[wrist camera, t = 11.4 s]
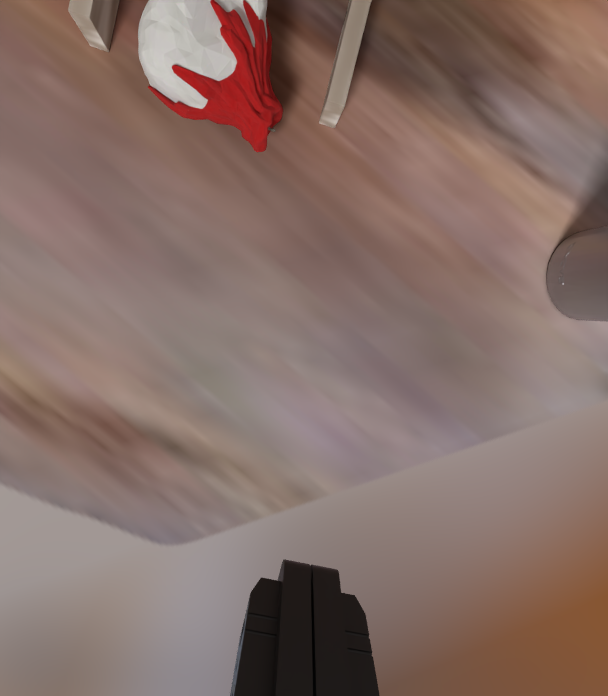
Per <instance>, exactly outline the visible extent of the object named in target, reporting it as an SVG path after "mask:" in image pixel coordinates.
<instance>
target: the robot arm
mask: <svg viewBox="0 0 608 696" xmlns="http://www.w3.org/2000/svg"><path fill="white" fill-rule="evenodd" d="M547 288H548V293H549V295H550V298H551V300H552V302H553V303H554V305H555V306H556V308H557V309H558V310H560V311H561V312H562V313H563V314H564V315H566V316H568V317H570V318H573V319H577V320H589V321H607V322H608V226H604V227H599V228H595V229H590V230H586V231H581V232H578V233H576V234H573V235H571V236H570V237H568V238H567V239H565V240H564V241H563V242H562V243H561V244H560V245H559V246H558V247H557V249H556V250H555V252H554V253H553V255H552V257H551V260H550V262H549V265H548V270H547ZM230 696H379V690H378V684H377V679H376V673H375V667H374V661H373V657H372V650H371V644H370V639H369V633H368V626H367V621H366V615H365V613H364V611H363V609H362V607H361V605H360V604H359V602H358V600H357V598H356V597H355V595H350V594H345V593H341V589H340V579H339V572H338V570H336V569H331V568H326V567H321V566H316V565H311V566H310V565H309V564H305V563H300V562H294V561H289V560H283V562H282V566H281V569H280V574H279V577H278V581H276V580H271V579H266V578H261V579H260V580H259V582H258V583H257V584H256V586H255V587H254V589H253V590H252V592H251V594H250V598H249V602H248V607H247V610H246V615H245V619H244V623H243V627H242V632H241V636H240V641H239V647H238V652H237V659H236V664H235V671H234V676H233V682H232V687H231V694H230Z"/></svg>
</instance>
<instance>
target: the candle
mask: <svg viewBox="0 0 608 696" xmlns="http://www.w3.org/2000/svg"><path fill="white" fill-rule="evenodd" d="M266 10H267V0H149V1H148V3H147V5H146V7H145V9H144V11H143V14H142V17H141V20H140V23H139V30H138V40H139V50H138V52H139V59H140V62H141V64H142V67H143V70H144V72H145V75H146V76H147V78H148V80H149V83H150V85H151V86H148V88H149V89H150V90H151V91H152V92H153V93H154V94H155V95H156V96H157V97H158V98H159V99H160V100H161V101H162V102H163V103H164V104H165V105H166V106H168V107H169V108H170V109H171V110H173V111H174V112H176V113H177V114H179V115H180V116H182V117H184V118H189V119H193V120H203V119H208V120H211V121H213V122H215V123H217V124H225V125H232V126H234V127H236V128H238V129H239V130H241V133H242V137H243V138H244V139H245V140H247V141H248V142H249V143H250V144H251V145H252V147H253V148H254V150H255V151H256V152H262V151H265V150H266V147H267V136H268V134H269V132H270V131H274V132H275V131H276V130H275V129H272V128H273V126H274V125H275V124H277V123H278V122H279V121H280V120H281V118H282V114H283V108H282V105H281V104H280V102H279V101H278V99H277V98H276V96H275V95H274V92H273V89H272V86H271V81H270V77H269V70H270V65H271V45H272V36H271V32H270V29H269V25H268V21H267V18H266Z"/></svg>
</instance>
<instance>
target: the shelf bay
mask: <svg viewBox="0 0 608 696" xmlns="http://www.w3.org/2000/svg"><path fill="white" fill-rule="evenodd" d="M119 1H120V0H70V3H69V8H68V11H69V13H70V14H71V16H72V18H73V19H74V21H75V22H76V24H77V26H78V27H79V29H80V30H81V32H82V33H83V35H84V37H85V38H86V40H87V41H88V43H89V45H90V46H92V47H95V48H98V49H101V50H104V51H107V52H109V49H110V44H111V40H112V35H113V30H114V25H115V20H116V15H117V10H118V5H119ZM371 1H372V0H349V4H348V8H347V12H346V16H345V20H344V24H343V28H342V32H341V36H340V40H339V44H338V48H337V52H336V56H335V60H334V64H333V68H332V72H331V76H330V80H329V84H328V88H327V92H326V96H325V100H324V104H323V108H322V112H321V116H320V120H319V123H320V124H323V125H326V126H329V127H332V128H335V126H336V124H337V122H338V120H339V117H340V115H341V113H342V111H343V109H344V106H345V103H346V99H347V95H348V91H349V87H350V83H351V79H352V75H353V71H354V67H355V63H356V59H357V55H358V51H359V47H360V43H361V39H362V35H363V32H364V28H365V24H366V20H367V16H368V12H369V8H370V4H371Z"/></svg>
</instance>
